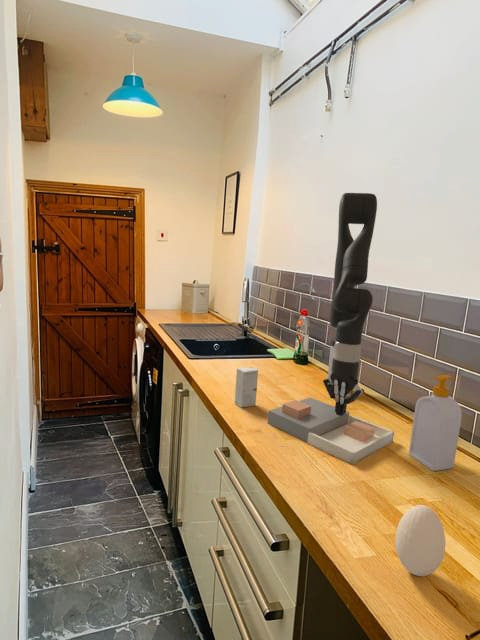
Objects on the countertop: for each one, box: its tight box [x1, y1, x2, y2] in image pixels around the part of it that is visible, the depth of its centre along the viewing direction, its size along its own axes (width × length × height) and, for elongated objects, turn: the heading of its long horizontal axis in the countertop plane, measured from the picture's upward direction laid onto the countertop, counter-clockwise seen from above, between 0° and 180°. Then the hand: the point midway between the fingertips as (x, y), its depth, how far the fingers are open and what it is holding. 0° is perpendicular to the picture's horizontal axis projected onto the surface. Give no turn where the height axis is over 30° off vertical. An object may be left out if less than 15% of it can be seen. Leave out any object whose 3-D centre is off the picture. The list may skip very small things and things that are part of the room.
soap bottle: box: [408, 374, 463, 472], centre depth 104 cm, size 9×7×23 cm
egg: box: [394, 504, 446, 577], centre depth 67 cm, size 7×7×12 cm
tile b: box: [281, 399, 311, 419], centre depth 122 cm, size 6×6×2 cm
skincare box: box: [234, 366, 259, 408], centre depth 136 cm, size 6×4×12 cm
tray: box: [307, 414, 395, 466], centre depth 114 cm, size 21×14×3 cm, turn 133°
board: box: [267, 397, 350, 443], centre depth 124 cm, size 20×15×4 cm
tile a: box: [344, 421, 375, 442], centre depth 117 cm, size 6×6×2 cm
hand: (339, 414), depth 121 cm, fingers closed
